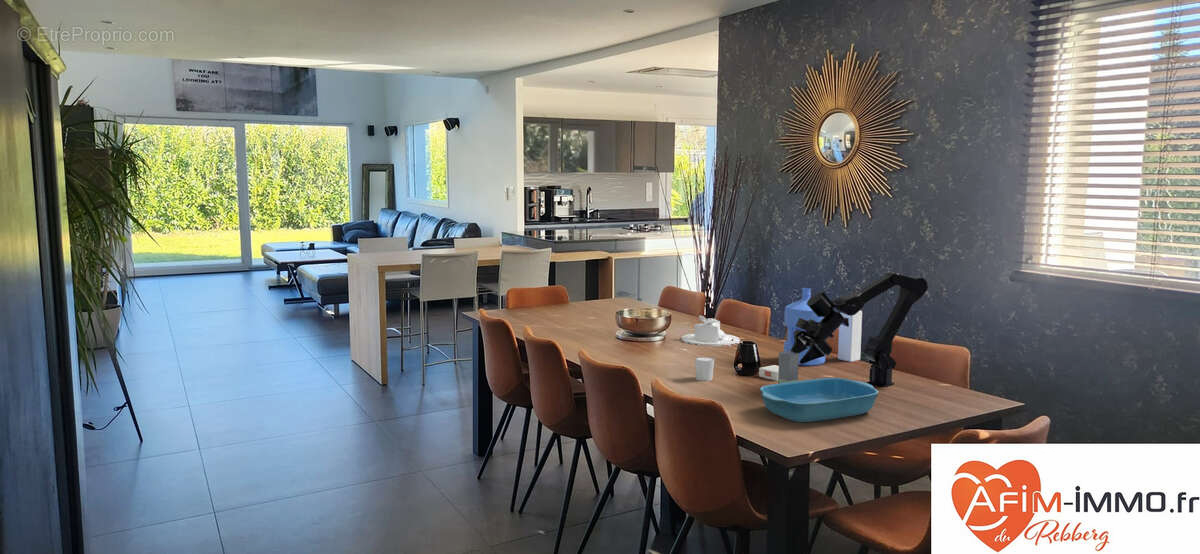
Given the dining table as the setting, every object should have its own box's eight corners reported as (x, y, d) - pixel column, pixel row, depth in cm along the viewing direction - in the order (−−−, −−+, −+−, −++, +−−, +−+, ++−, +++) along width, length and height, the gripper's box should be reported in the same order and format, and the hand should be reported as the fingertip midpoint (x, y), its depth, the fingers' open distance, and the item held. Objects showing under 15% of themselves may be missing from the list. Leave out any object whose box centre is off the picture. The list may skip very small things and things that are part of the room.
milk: (850, 362, 309) (853, 304, 307) (837, 359, 314) (839, 302, 311) (860, 359, 313) (862, 303, 310) (847, 357, 318) (849, 301, 315)
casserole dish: (790, 429, 225) (791, 404, 224) (744, 409, 245) (745, 386, 244) (892, 414, 240) (893, 391, 239) (841, 396, 260) (842, 374, 259)
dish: (725, 349, 334) (725, 322, 332) (671, 342, 347) (671, 316, 346) (748, 339, 354) (749, 314, 353) (697, 333, 368) (697, 309, 366)
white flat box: (792, 377, 284) (792, 369, 284) (776, 380, 279) (777, 372, 279) (774, 373, 290) (774, 364, 290) (758, 376, 285) (759, 368, 285)
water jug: (810, 356, 319) (812, 285, 316) (833, 364, 305) (836, 290, 301) (775, 358, 315) (777, 286, 311) (797, 367, 300) (799, 292, 296)
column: (798, 388, 269) (799, 353, 267) (788, 390, 266) (789, 354, 264) (786, 385, 272) (788, 350, 271) (777, 388, 270) (778, 352, 268)
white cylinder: (718, 378, 282) (718, 358, 281) (706, 382, 277) (706, 362, 276) (701, 375, 287) (702, 356, 286) (690, 378, 282) (690, 359, 281)
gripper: (799, 305, 277) (767, 338, 276) (824, 314, 258) (790, 349, 258) (820, 327, 279) (788, 360, 278) (846, 338, 261) (812, 372, 260)
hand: (794, 360), depth 268 cm, fingers open, 9 cm apart
